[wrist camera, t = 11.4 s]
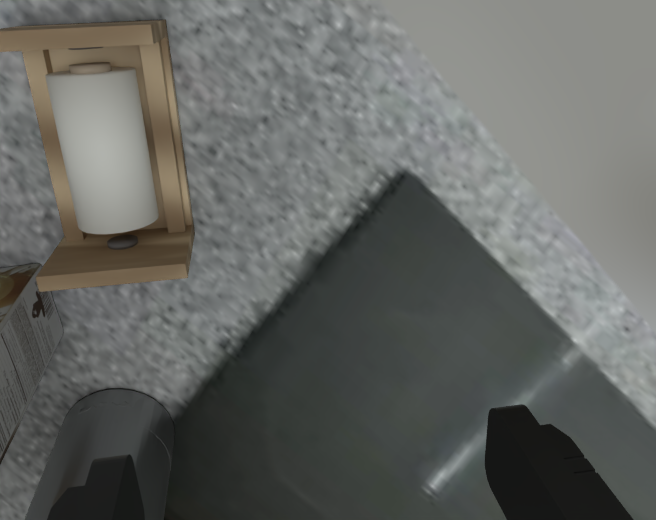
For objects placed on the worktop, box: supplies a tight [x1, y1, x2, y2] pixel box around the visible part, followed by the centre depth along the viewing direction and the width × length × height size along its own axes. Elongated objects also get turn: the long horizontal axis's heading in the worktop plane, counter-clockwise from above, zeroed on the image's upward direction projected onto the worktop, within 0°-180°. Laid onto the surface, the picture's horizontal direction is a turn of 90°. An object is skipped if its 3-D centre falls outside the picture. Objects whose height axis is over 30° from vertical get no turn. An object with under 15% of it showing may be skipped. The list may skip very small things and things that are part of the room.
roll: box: [45, 62, 159, 234], centre depth 39 cm, size 10×5×5 cm, turn 2°
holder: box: [0, 20, 195, 292], centre depth 38 cm, size 15×9×8 cm, turn 2°
